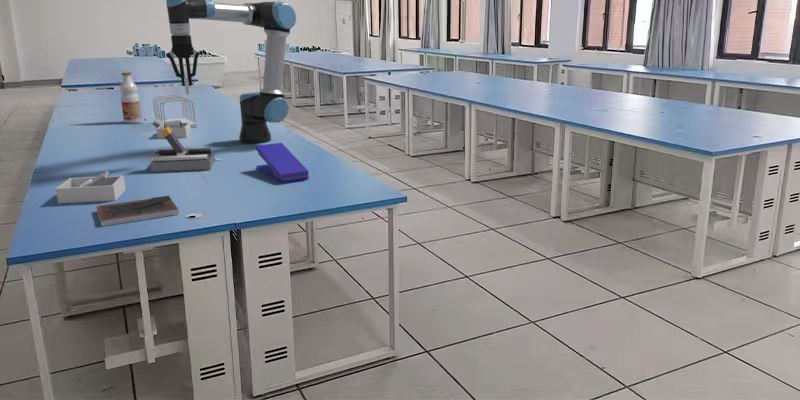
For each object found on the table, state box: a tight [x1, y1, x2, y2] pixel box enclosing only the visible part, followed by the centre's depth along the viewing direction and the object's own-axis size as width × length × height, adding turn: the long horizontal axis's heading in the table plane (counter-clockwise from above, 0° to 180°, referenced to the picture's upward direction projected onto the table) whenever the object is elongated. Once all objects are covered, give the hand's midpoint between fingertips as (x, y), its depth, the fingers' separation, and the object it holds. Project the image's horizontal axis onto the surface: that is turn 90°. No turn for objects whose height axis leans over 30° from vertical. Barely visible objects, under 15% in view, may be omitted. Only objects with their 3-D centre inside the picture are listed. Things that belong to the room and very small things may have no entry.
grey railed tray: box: [150, 147, 212, 162], centre depth 245 cm, size 21×15×2 cm
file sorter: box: [152, 94, 198, 128], centre depth 336 cm, size 25×17×16 cm
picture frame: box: [95, 195, 180, 227], centre depth 189 cm, size 16×2×22 cm
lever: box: [161, 126, 186, 154], centre depth 243 cm, size 3×7×13 cm, turn 10°
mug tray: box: [156, 122, 192, 140], centre depth 309 cm, size 14×16×5 cm
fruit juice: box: [119, 71, 143, 125], centre depth 343 cm, size 9×9×28 cm
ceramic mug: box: [164, 120, 182, 128], centre depth 307 cm, size 11×8×8 cm
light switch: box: [79, 170, 110, 187], centre depth 205 cm, size 8×6×14 cm
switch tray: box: [55, 175, 126, 204], centre depth 206 cm, size 18×14×5 cm
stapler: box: [255, 142, 309, 184], centre depth 233 cm, size 12×28×10 cm, turn 33°
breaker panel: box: [150, 147, 216, 174], centre depth 245 cm, size 22×16×6 cm
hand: (188, 93), depth 250 cm, fingers closed
